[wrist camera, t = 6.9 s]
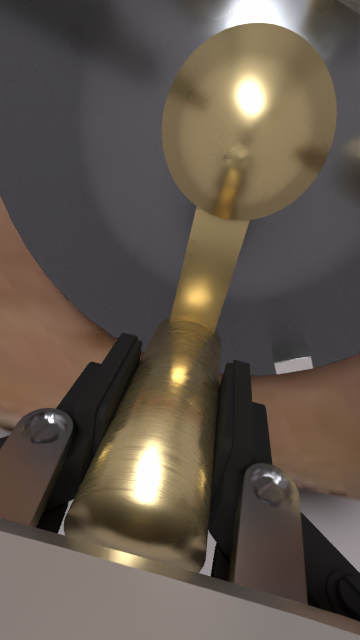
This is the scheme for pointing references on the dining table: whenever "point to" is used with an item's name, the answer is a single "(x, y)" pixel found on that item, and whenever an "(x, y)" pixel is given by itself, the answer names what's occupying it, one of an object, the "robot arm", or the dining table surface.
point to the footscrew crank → (205, 282)
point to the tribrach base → (157, 182)
